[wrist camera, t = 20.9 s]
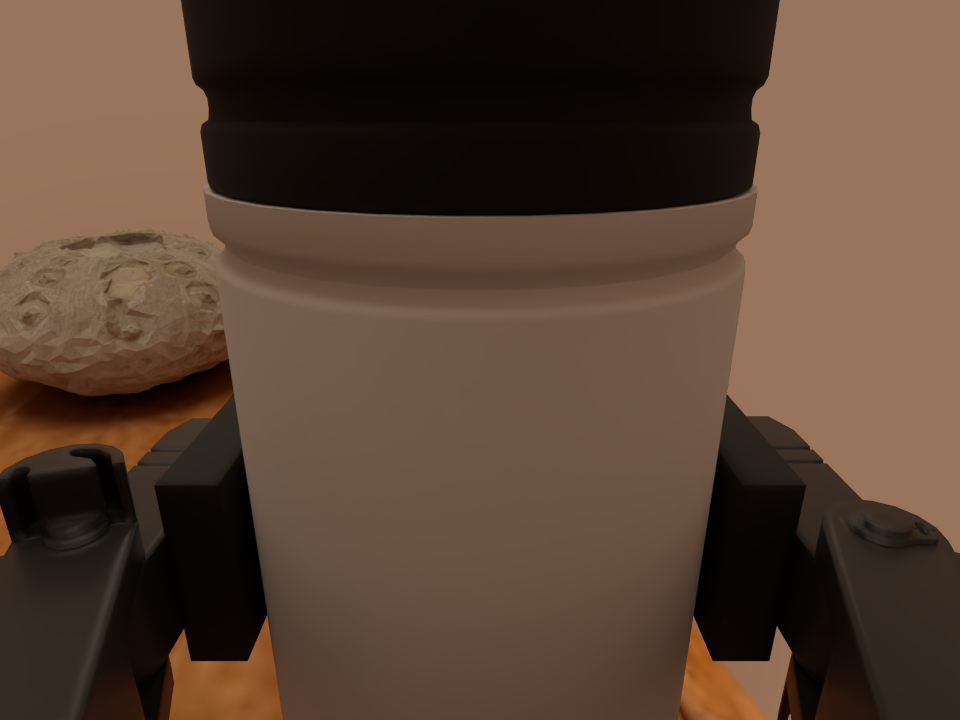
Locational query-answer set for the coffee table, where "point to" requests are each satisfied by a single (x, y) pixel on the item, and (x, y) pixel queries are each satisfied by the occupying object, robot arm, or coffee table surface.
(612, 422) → the travel mug
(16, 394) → the coffee table surface
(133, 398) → the coffee table surface
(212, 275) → the decorative shell
